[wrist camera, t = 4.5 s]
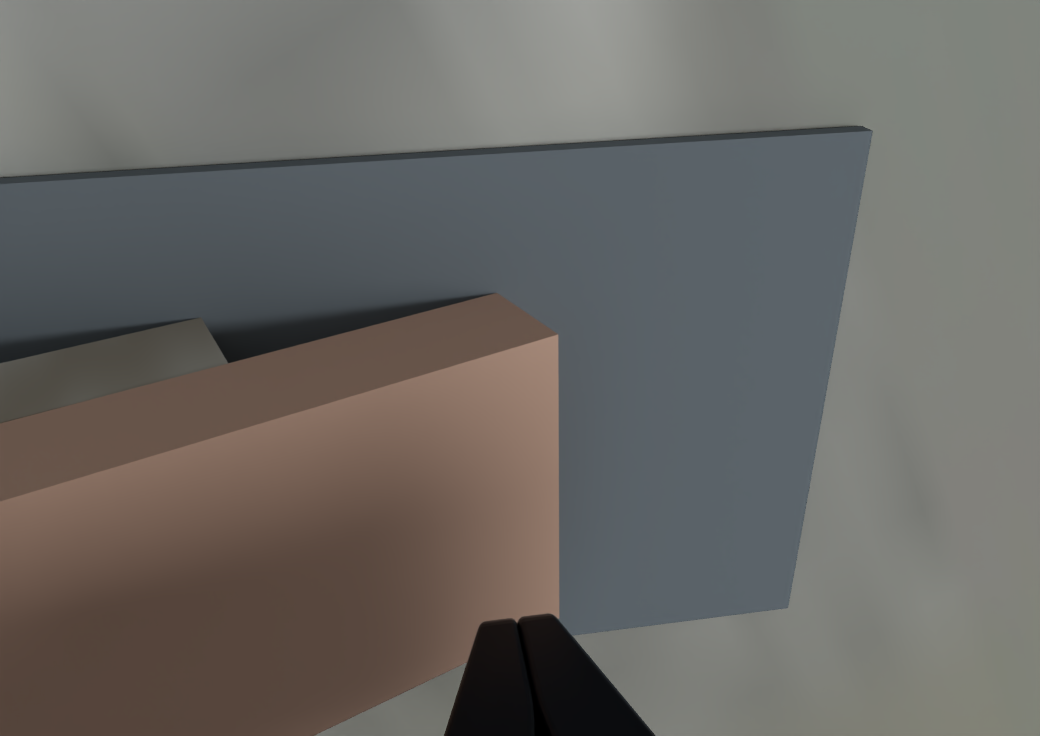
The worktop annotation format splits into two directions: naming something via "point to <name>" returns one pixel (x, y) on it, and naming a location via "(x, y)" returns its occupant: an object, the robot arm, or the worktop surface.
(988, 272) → the worktop surface
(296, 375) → the domino
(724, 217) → the mat
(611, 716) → the robot arm
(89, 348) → the domino
